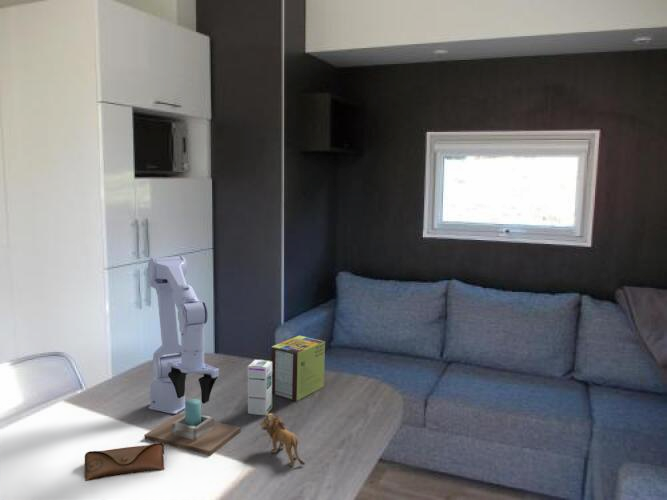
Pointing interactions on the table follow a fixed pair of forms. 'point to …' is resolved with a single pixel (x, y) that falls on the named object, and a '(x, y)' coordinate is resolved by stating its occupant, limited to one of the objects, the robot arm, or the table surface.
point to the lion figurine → (281, 436)
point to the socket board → (193, 434)
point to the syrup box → (260, 387)
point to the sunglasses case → (123, 461)
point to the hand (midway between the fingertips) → (193, 399)
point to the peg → (193, 412)
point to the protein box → (297, 367)
